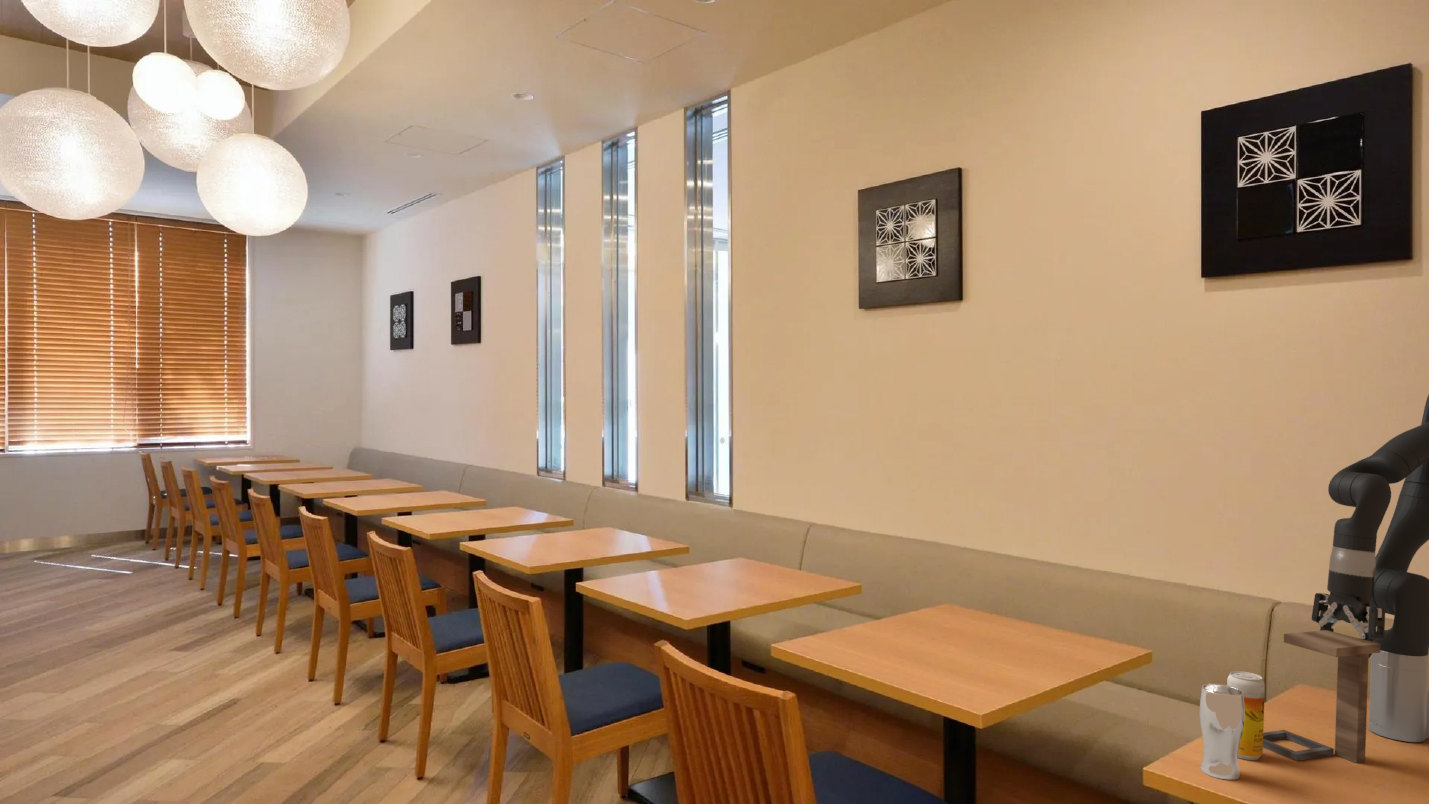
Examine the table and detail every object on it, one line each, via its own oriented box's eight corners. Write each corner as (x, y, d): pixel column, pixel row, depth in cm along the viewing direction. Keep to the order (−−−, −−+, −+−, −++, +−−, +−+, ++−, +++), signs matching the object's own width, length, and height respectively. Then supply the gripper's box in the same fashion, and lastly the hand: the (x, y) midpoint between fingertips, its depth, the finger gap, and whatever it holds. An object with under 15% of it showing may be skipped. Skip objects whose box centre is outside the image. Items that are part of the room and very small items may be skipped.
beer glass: (1239, 784, 153) (1242, 698, 153) (1194, 773, 158) (1197, 689, 158) (1244, 772, 159) (1247, 688, 159) (1201, 761, 163) (1203, 680, 163)
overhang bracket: (1293, 734, 179) (1296, 622, 179) (1376, 765, 164) (1380, 643, 164) (1247, 741, 174) (1251, 626, 174) (1328, 774, 159) (1332, 648, 159)
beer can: (1262, 764, 163) (1265, 682, 163) (1224, 756, 166) (1226, 676, 166) (1262, 753, 168) (1265, 674, 168) (1225, 745, 171) (1228, 668, 171)
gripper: (1400, 579, 172) (1393, 663, 172) (1336, 566, 186) (1329, 643, 186) (1368, 577, 170) (1360, 661, 170) (1306, 563, 184) (1298, 641, 184)
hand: (1344, 651), depth 178 cm, fingers open, 8 cm apart
